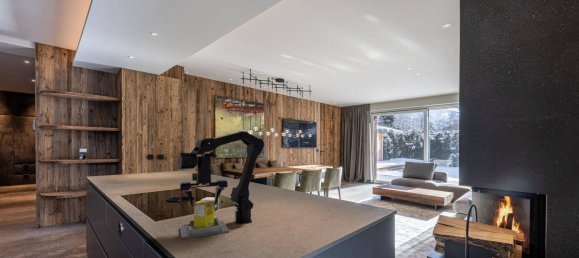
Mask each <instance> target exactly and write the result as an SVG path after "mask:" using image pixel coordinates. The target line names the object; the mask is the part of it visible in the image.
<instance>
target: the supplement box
mask: <svg viewBox="0 0 579 258" xmlns="http://www.w3.org/2000/svg"><path fill="white" fill-rule="evenodd" d="M214 216H215V213H214V201H211V200H198V201H194V202H193V220H194V229H195V228H203V227H210V226H214Z"/></svg>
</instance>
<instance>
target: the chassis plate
mask: <svg viewBox="0 0 579 258" xmlns="http://www.w3.org/2000/svg"><path fill="white" fill-rule="evenodd" d="M179 232H180V238H181V240H186V239H193V238H199V237H205V236H206V237H207V236H213V235H219V234H226V233H230V229H229V227H228V226H227V225H226V224H225V221H223V220H222V221H220V220H219V219H218V217H215V218H214V226H210V227H203V228H195V229H194V219H192V220H191V219H190V220H187V221H186V225H185V226H183V225H182V226H179Z"/></svg>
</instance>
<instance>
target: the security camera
mask: <svg viewBox="0 0 579 258" xmlns="http://www.w3.org/2000/svg"><path fill="white" fill-rule="evenodd" d="M201 200H211V201H214V200H215V197H213V196H212V197H210V196H209V197H207V196H206V197H204V198H202V199H201ZM201 200H200V201H201ZM219 210H220V197H219V198H218V200H217V203H216V205H215V203H214V214H215V213H217V212H219ZM214 218H216V215H214Z"/></svg>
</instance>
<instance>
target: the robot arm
mask: <svg viewBox="0 0 579 258" xmlns="http://www.w3.org/2000/svg"><path fill="white" fill-rule="evenodd" d="M239 141H241V142H242V144H244V145H245V146H246V154H247V156H246V159H245V161H244V165H243V170H242V172H241V174H240V175H241V176H240V178H239V180H238V181H239V182H238V184H237V186H236V187H234V186H233V187H232V190H231V193H230V194H229V196H230V202H231V203H232V204H233V206H234V207H235V211H234V221H235V222H236V223H237V224H239V225H240V224H246V223H247V224H249V223H252V222H253V220H252V213H251V212H252V209H253V207H254V206H255V205H254V203H253V202H252V201H251V200H250V189H249V187H250V183H251V180H252V176H253V173H254V169H255V166H256V163H257V159H258V157H259V156H260V155H261V153H262V152H263V150H264V147H265V142H264V139H262V138H260V137H257V136H255V135H253V134H252V133H249V132H248V131H247V130H239V131H237V132H234V133H229V134H226V135H222V136H217V137H207V138H199V139H198V140H197V141H196V144H195V146H194V148H193V149H192V150H191V152H179V155H178V157H177V162H176V164H177V165H176V166H177V170H193V169H196V168H197V169H196V170H197V171H196V172H192V173H191V181H192V182H191V181H181V182H180V183H179V191H182V192H183V194H185V193H186V195H187V197H188V198H189V199H188V200H189V202H190V206H191V208H194V201H193V200H194V199H193V192H192V189H194V188H195V189H196V188H209V187H215V192H214V198H215V200H214V203H215V205H216V203H217V200H218V198H219V199H220V195H221V193H222V191H224V190H225V188H226V189H227V188H228V181H227V180H226V179H216V180H215V181H212V158H217V155H216V154H215V153H214V150H216V149H218V148H220V146H224V145H227V144H231V143H234V142H239ZM208 152H209V153H208ZM193 182H194V183H193Z"/></svg>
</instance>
